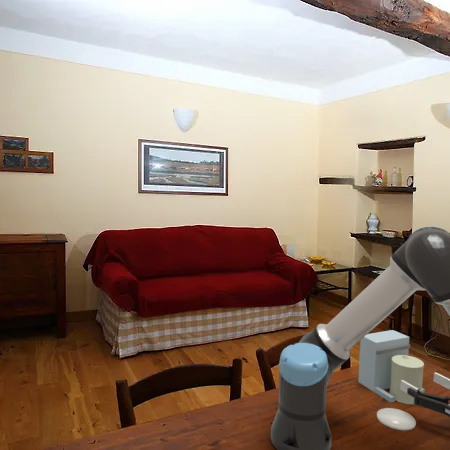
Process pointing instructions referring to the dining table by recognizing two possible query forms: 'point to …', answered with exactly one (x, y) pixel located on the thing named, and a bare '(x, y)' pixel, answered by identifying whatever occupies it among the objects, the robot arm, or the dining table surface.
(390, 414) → the coaster
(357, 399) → the dining table surface
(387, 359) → the pale blue footed box
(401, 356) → the can
